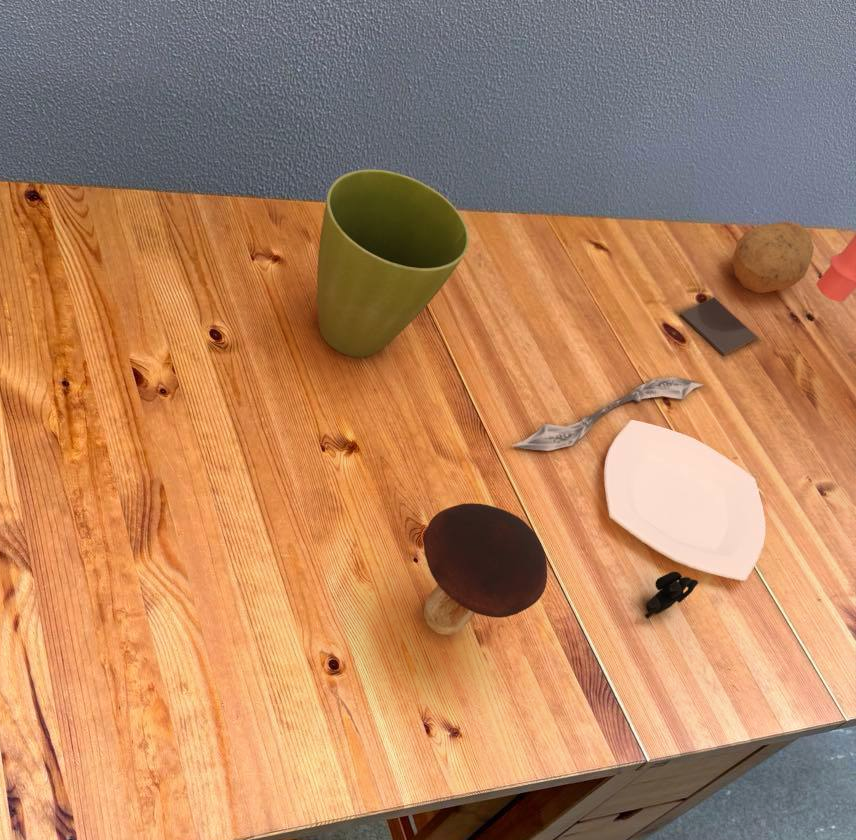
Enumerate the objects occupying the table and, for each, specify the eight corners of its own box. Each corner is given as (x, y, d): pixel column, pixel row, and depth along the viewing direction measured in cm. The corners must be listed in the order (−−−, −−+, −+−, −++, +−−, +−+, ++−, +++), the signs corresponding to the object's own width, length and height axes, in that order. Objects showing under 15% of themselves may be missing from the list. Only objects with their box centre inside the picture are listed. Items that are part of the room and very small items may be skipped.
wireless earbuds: (637, 625, 96) (665, 599, 92) (621, 605, 97) (648, 578, 93) (682, 602, 100) (711, 577, 96) (667, 583, 101) (695, 557, 97)
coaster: (755, 339, 130) (757, 337, 130) (723, 356, 126) (725, 354, 125) (712, 299, 132) (714, 297, 132) (679, 314, 128) (680, 312, 128)
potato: (699, 272, 135) (734, 226, 129) (749, 246, 143) (784, 201, 137) (753, 318, 132) (791, 273, 126) (800, 289, 140) (839, 245, 134)
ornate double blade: (704, 388, 120) (677, 361, 122) (707, 385, 120) (679, 358, 122) (536, 476, 104) (506, 443, 106) (538, 472, 103) (508, 439, 105)
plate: (749, 609, 102) (761, 600, 100) (582, 530, 102) (591, 519, 100) (760, 484, 113) (770, 474, 112) (610, 413, 113) (619, 402, 112)
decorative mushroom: (414, 688, 85) (483, 602, 73) (363, 583, 90) (420, 487, 78) (514, 658, 90) (594, 573, 78) (461, 560, 95) (528, 466, 83)
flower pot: (336, 268, 114) (379, 150, 102) (437, 340, 112) (495, 229, 100) (260, 325, 106) (297, 204, 93) (369, 405, 103) (422, 291, 91)
